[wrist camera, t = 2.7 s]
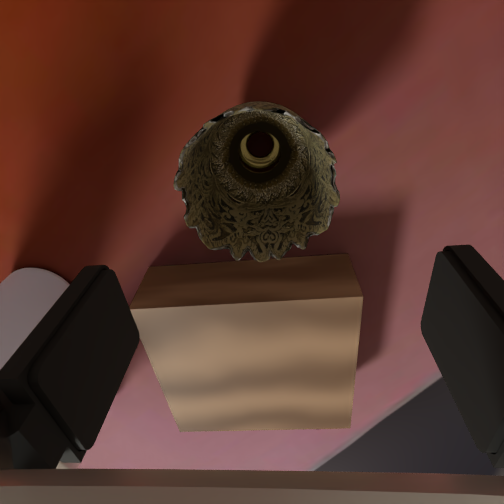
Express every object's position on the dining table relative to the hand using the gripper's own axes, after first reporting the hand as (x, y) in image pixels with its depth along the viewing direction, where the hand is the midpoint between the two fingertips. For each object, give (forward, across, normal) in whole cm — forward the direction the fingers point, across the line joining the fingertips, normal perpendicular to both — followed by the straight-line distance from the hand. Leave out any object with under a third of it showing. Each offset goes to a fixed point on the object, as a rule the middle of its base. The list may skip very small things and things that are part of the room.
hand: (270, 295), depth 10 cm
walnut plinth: (+14, +3, +16) cm, 22 cm away
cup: (+14, +1, -1) cm, 14 cm away
